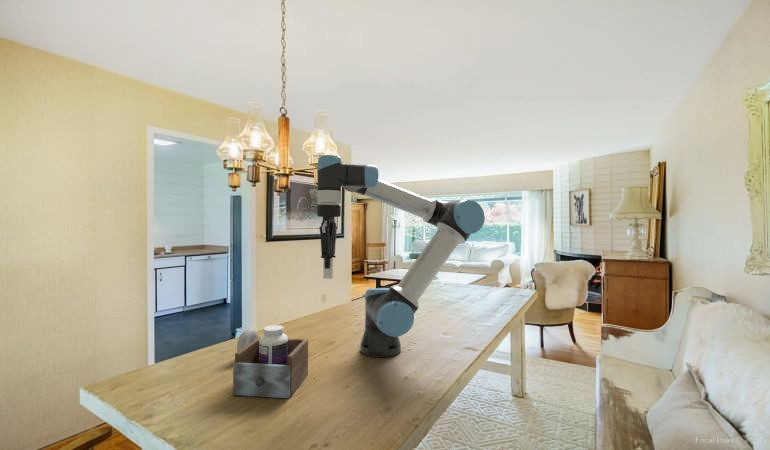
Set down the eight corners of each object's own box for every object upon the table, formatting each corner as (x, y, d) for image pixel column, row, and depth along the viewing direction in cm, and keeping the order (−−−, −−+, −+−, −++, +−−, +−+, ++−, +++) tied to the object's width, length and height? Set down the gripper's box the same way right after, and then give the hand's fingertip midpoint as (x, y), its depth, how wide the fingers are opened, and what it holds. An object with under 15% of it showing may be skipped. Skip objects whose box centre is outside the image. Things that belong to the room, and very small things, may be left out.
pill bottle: (289, 370, 106) (290, 323, 106) (285, 382, 98) (285, 331, 98) (262, 371, 105) (263, 323, 105) (255, 383, 97) (256, 332, 97)
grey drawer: (305, 376, 106) (305, 348, 106) (287, 400, 91) (287, 368, 91) (256, 373, 107) (256, 346, 107) (230, 397, 92) (230, 365, 92)
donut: (243, 363, 115) (244, 333, 115) (234, 362, 116) (234, 332, 116) (260, 352, 125) (260, 325, 125) (251, 351, 126) (252, 324, 126)
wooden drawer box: (307, 374, 107) (308, 339, 107) (291, 397, 93) (291, 356, 93) (258, 372, 109) (258, 337, 109) (234, 393, 95) (235, 353, 95)
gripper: (323, 205, 118) (322, 275, 118) (311, 203, 105) (310, 281, 105) (344, 205, 117) (344, 275, 117) (335, 203, 104) (334, 282, 104)
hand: (328, 278), depth 111 cm, fingers closed
